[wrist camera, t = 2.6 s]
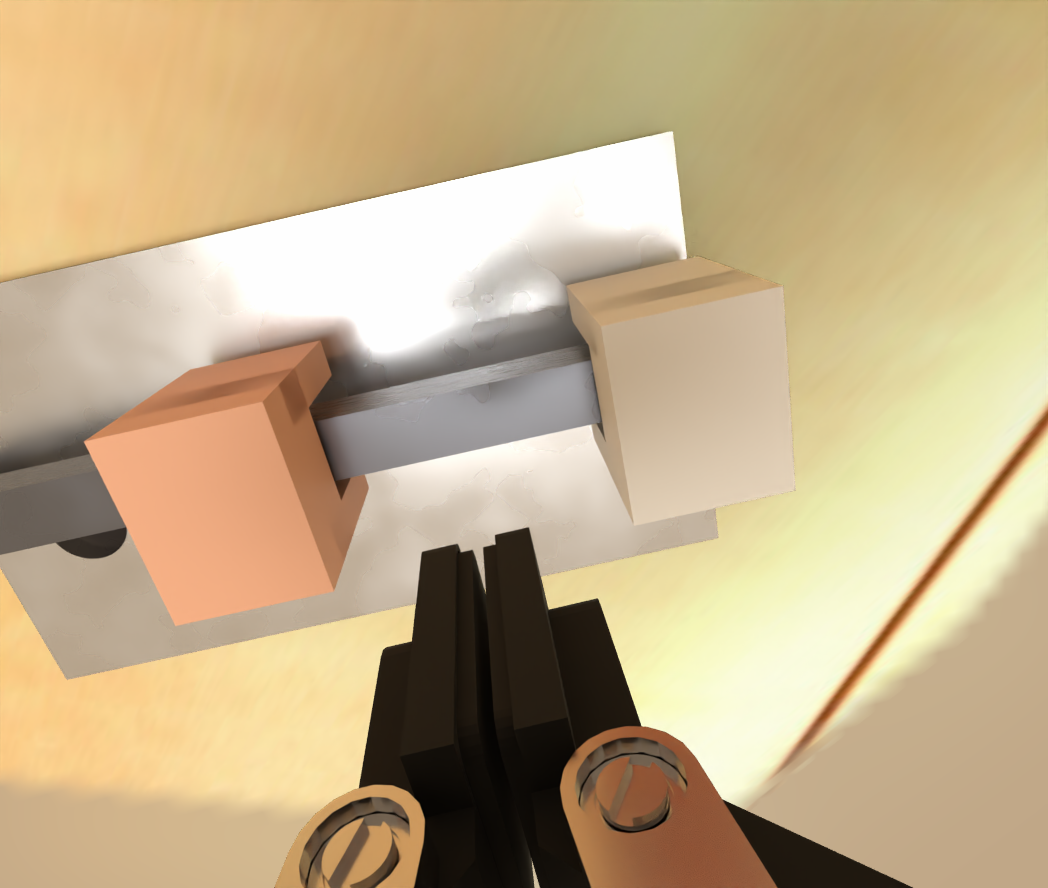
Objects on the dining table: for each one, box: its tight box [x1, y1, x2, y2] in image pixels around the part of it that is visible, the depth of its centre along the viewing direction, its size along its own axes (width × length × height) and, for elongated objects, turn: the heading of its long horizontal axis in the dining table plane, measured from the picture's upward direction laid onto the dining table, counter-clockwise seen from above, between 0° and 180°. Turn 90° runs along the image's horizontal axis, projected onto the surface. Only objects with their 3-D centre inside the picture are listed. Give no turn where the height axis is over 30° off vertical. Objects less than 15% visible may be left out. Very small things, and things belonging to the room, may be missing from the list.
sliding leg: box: [84, 341, 369, 626], centre depth 19 cm, size 4×5×7 cm
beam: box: [0, 343, 602, 555], centre depth 20 cm, size 25×2×4 cm, turn 102°
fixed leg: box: [566, 256, 796, 526], centre depth 19 cm, size 4×5×7 cm
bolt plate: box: [0, 131, 718, 680], centre depth 23 cm, size 25×14×1 cm, turn 102°
